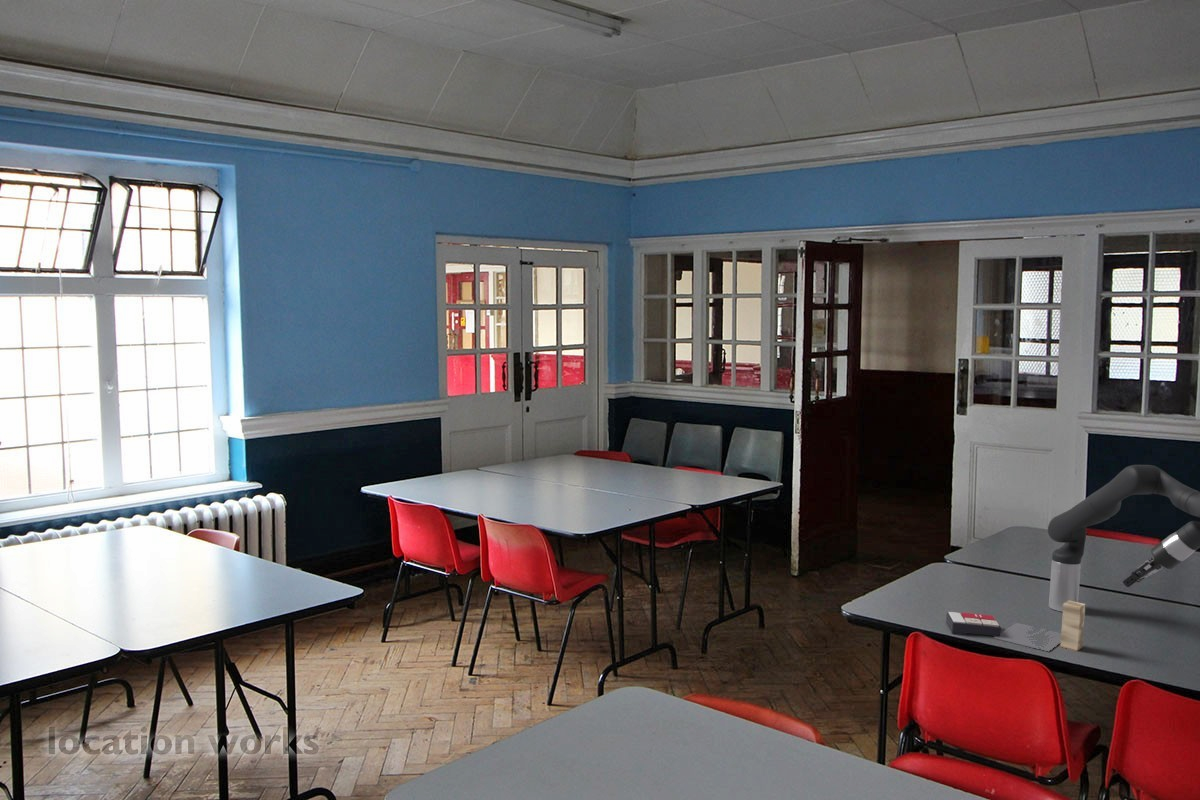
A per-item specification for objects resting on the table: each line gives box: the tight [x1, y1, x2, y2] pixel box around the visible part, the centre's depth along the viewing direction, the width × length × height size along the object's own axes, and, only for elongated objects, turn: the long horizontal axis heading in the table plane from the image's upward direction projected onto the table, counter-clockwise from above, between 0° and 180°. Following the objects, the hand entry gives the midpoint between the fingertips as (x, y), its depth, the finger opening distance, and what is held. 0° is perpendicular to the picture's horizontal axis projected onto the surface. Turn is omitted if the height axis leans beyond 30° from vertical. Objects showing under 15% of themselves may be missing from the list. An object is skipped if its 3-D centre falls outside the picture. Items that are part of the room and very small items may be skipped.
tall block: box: [1059, 600, 1086, 652], centre depth 306 cm, size 5×5×14 cm
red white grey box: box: [945, 611, 1002, 637], centre depth 320 cm, size 11×4×15 cm
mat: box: [993, 622, 1061, 653], centre depth 315 cm, size 20×17×1 cm
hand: (1130, 582), depth 292 cm, fingers open, 8 cm apart
